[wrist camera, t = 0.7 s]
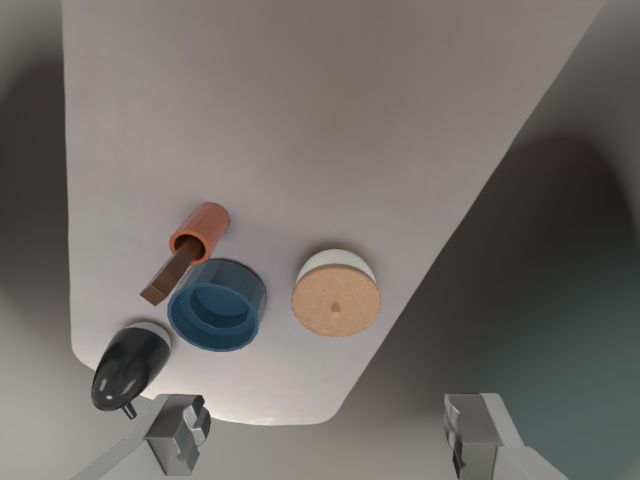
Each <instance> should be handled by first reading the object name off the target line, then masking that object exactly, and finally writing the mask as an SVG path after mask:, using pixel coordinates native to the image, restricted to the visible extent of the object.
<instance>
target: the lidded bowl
mask: <svg viewBox="0 0 640 480" xmlns="http://www.w3.org/2000/svg"><path fill="white" fill-rule="evenodd" d="M291 303H292V309H293V312H294V315H295V317H296V318H297V319H298V321H299V322H300V323H301V324H302V325H303V326H304V327H306V328H307V329H309V330H310V331H312V332H314V333H317V334H319V335H323V336H328V337H345V336H350V335H353V334H356V333H358V332H360V331H362V330H364V329H365V328H367V327H368V326H369V325H370V324H372V322H373V321H374V320H375V319H376V317H377V315H378V313H379V311H380V306H381V297H380V293H379V290H378V287H377V284H376V281H375V278H374V275H373V273H372V271H371V269H370V268H369V266H368V265H367V264H366V262H365V261H364V260H363V259H361V258H360V257H359V256H357V255H356V254H354V253H352V252H350V251H347V250H342V249H329V250H325V251H322V252H319V253H317V254H315V255H314V256H312V257H311V258H310V259H309V260H308V261H307V262H306V263H305V264H304V265H303V267H302V269H301V270H300V272H299V274H298V277H297V280H296V283H295V287H294V290H293V293H292V300H291Z"/></svg>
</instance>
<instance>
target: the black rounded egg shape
mask: <svg viewBox="0 0 640 480" xmlns="http://www.w3.org/2000/svg"><path fill="white" fill-rule="evenodd" d="M170 348H171V342H170V338H169V335H168V334H167V332H166V331H165V330H164V329H163V328H162V327H160V326H158V325H156V324H154V323H150V322H138V323H134V324H132V325H130V326H128V327H126V328H125V329H122V330H120V331H119V332H118V333H117V334H116V335H115V336H114V337H113V339H112V340H111V341H110V343H109V345H108V346H107V348H106V350H105V352H104V354H103V356H102V358H101V360H100V362H99V365H98V367H97V370H96V373H95V376H94V380H93V385H92V392H91V393H92V394H91V397H92V402H93V404H94V405H95V406H96V407H97V408H98V409H100V410H103V411H114V410H117V409H119V408H122V409H123V411H124V412H125V413H126V415H127V416H128V417H129V418H130V419H134V418H135V417H136V416H137V413H136V412H135V409H134V408H133V406H132V404H131V401H132V400H133V399H134V398H135V397H137V396H138V395H139V394H140V393H142V392H143V391H144V390H145V389H146V388H147V387H148V386H149V385H150V384H151V383H152V381H153V380H154V379H155V378H156V377H157V376H158V374H159V373H160V372H161V370H162V369H163V368H164V366H165V365H166V363H167V361H168V359H169V357H170Z"/></svg>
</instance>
